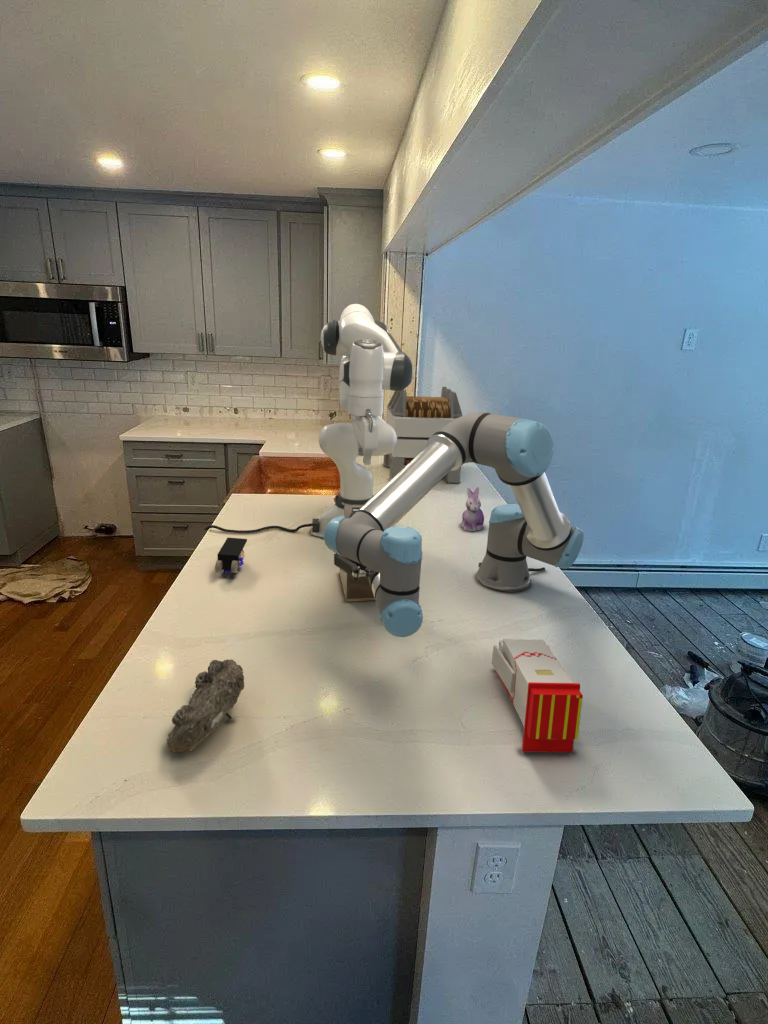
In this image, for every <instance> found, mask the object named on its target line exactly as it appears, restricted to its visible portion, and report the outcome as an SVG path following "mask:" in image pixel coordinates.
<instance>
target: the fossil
mask: <svg viewBox="0 0 768 1024" xmlns="http://www.w3.org/2000/svg"><path fill="white" fill-rule="evenodd" d="M243 670H244V669H243V667H242V665H240V664H237V662H236V661H235V660H234V659H232V658H231V659H227V658H226V659H224V660H223V661H222V660H217V659H212V660H211V661H210V663H209V665H208V666H207V671H201V672H199V673H198V674H197V675H196V676H195V680H194V684H195V685H194V687H195V689H194V690H193V693H192V694H191V697H190V698H189V700H188V704H184V705H182V706H181V707H180V709H177V710H176V711H175V713H174V715H173V716H172V718H171V723H172V724H173V727H172V730H171V731H170V732H168V734H167V738H166V741H167V742H166V745H167V749H168V750H169V751H173V752H174V753H176V754H178V753H182V752H188V751H189V752H192V751H193V750H195V748H196V747H197V746H199V744H200V743H201V742H203V741H204V740H205V739H206V738H207V737H208V736H209V735H210V734H211V733H212V732H214V730H215V729H217V727H218V726H219V724H220V722H221V721H222V720H223V719H224V718H225V716H226V717H227V719H229V720H233V717H232V715H230V714H229V710H230V709H231V708H234V706H235V704H236V703H237V702H238V699H239V697H240V695H241V693H242V691H243V690H245V689H244V688H245V675H244V671H243Z"/></svg>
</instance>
